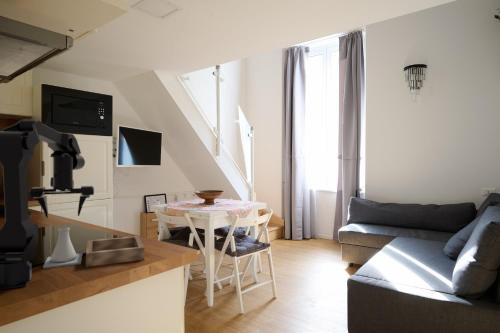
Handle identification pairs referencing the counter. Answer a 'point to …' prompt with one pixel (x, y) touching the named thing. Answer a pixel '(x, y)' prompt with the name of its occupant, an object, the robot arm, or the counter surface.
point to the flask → (63, 247)
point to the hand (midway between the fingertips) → (63, 216)
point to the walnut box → (114, 250)
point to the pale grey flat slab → (56, 264)
